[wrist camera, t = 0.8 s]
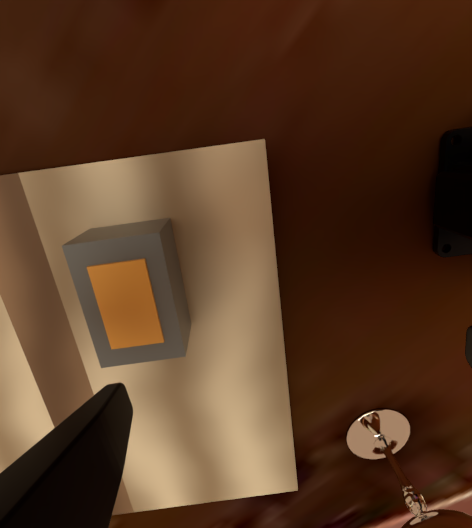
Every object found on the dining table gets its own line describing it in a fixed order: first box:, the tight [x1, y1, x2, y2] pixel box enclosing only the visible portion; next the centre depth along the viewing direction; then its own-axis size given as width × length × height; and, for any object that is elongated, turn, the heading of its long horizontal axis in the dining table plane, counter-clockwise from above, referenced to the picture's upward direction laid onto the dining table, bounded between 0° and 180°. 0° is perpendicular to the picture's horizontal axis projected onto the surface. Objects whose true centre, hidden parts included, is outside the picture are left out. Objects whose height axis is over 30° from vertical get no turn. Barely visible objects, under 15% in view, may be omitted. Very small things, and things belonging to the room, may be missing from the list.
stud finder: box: [62, 218, 191, 368], centre depth 16 cm, size 4×6×3 cm, turn 8°
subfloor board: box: [0, 139, 298, 515], centre depth 19 cm, size 20×23×1 cm
